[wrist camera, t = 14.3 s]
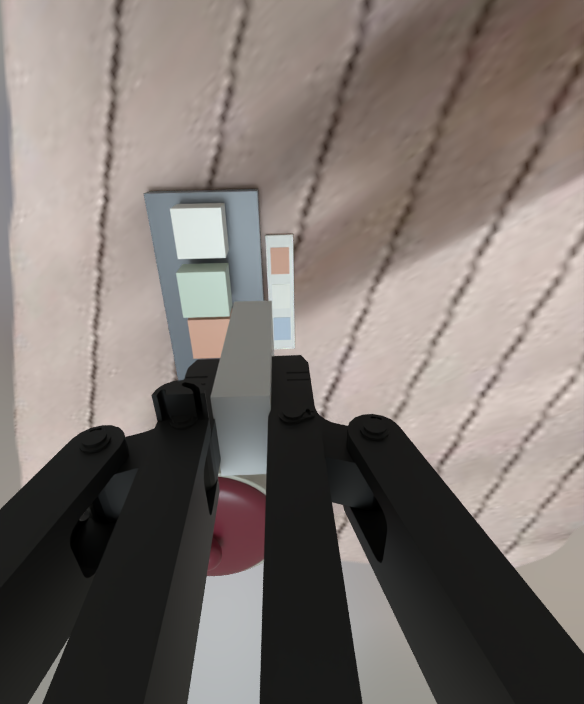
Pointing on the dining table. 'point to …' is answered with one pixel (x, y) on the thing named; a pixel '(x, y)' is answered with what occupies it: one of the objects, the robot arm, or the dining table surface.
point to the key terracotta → (208, 335)
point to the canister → (238, 524)
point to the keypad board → (240, 258)
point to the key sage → (205, 290)
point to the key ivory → (200, 230)
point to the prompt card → (281, 288)
